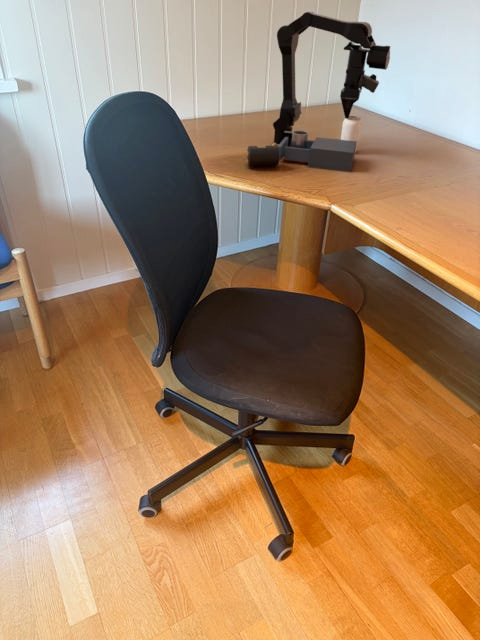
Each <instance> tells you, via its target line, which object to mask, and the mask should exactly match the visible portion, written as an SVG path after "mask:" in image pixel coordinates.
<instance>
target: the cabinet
mask: <svg viewBox="0 0 480 640" xmlns="http://www.w3.org/2000/svg"><path fill="white" fill-rule="evenodd" d="M313 141H314V142H313V144H312V146H311V147H310V154H309V163H308V162H307V163H308V164H307V167H308V168H314V169H324V170H331V171H341V172H349V173H350V172H351V170H352V167H353V165H354V161H355V156H356V152H355V150H356V144H357V141H348V140H341V139H339V138H329V137H318V136H317V137H316V136H315V139H314V140H313Z"/></svg>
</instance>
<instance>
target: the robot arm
mask: <svg viewBox="0 0 480 640" xmlns="http://www.w3.org/2000/svg"><path fill="white" fill-rule="evenodd" d="M309 28H314V29H318V30H321V31H325V32H328V33H333V34H336V35H339V36H341V37H343V38H345V39H346V40H348V41H349V42H348V43H347V44H346V45H345V46H344V47H343V50H344V51H349V52H348V58H347V65H346V69H345V78H344V82H343V88H341V91H340V96H339V97H340V103H341V106H342V110H343V115H344V119H345V118H349V116H351V112H352V110H353V109H352V108H353V106H354V104H355V103H356V102H359V100H360V96H361V93H362V91H363V88H364V89H366V90H368V91H369V92H370V93H372V94H374V93H375V92H376V90H377V88H378V86H379V84H380V82H379V80H377V75H376V74H375V73H372V74H371V75H367V74H365V73H366V70H365V66H366V65H367V66H368V68H369V69H377V70H383V71H384V70H387V69H388V67H389V64H390V60H391V45H378V44H377V43H376V41H375V39H374V37H373V35H372V33H373V30H372V29H373V28H372V26H371V24H370V23H369V22H367V21H347V20H346V21H345V20H341V19H337V18H334V17H331V16H326V15H323V14H319V13H315V12H314V11H307V12H304V13H302V15H300V16H299V17H298V18H297V19H295V20H293V21H292V22H290V23H289V24H286V25H282V26H280V27H279V28H278V30H277V32H276V40H277V45H278V49H279V52H280V55H281V67H282V69H281V70H282V102H281V105H280V109H279V118H277V119H276V120H275V121H273V122H272V126H273V130H274V137H273V143H276V144H280V143H281V142H282V140H283V139H284V138H285V137H288V147H290V144H291V138H292V135H293V133H285V132H284V131H292V132H293V130H294V129H293V126H295V123H296V122H297V121H299V119H300V117H301V115H302V110H301V109H302V102H298V101H297V96H296V52H297V49H298V45H299V38H300V35H301V34H303V33H304V32H305V31H306V30H308V29H309Z"/></svg>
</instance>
